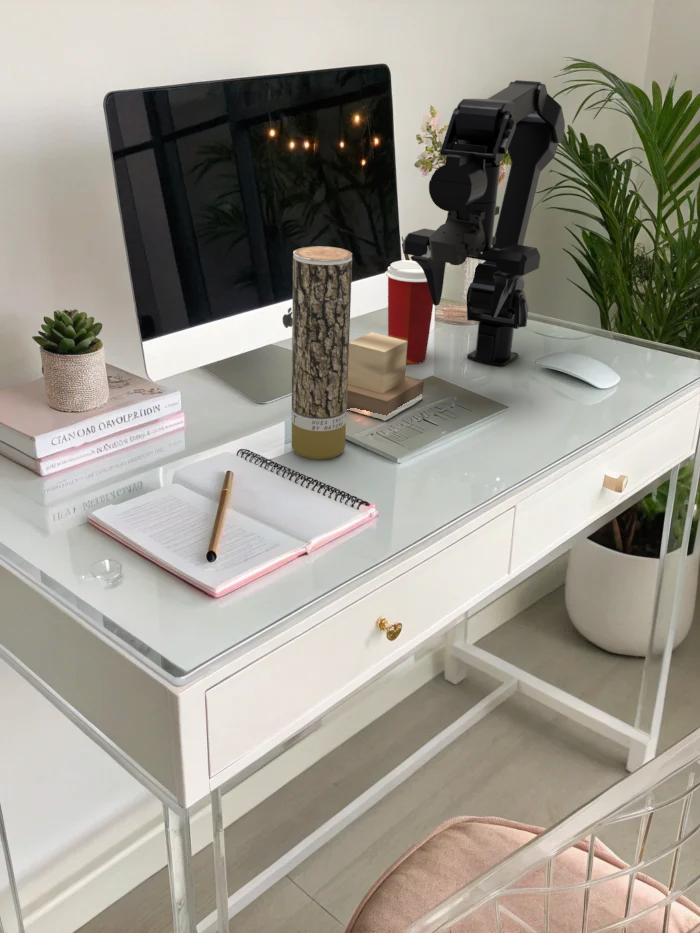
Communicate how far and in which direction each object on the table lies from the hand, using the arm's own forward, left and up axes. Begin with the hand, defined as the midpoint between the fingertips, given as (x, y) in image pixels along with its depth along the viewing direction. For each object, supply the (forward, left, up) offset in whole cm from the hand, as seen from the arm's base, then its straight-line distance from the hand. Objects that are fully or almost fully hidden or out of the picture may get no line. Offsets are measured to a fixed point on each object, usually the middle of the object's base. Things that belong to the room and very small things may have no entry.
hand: (464, 311), depth 132 cm
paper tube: (+30, -4, -12) cm, 33 cm away
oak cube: (+12, -7, -9) cm, 17 cm away
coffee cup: (-7, -13, -12) cm, 19 cm away
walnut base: (+12, -7, -12) cm, 18 cm away
